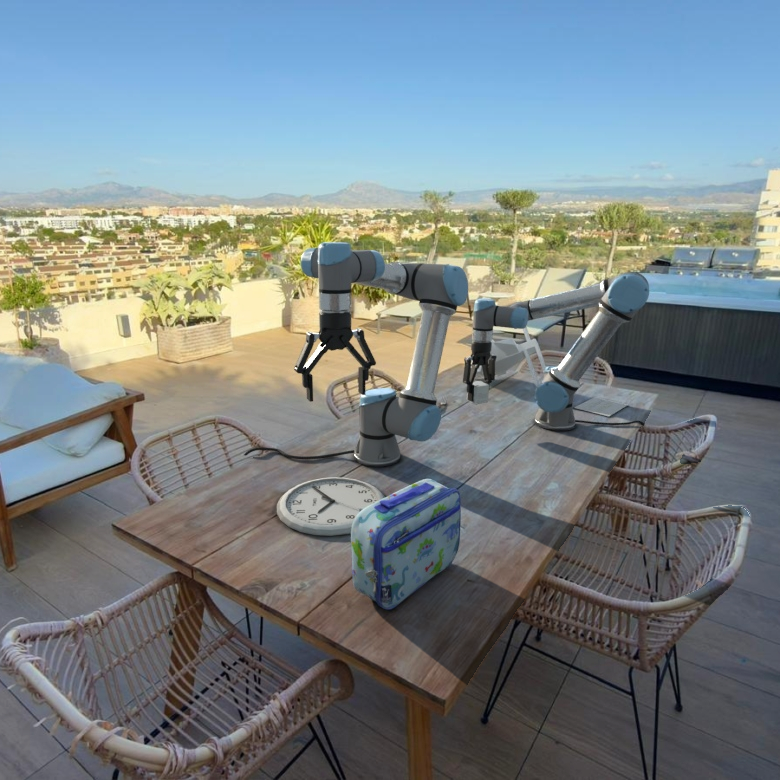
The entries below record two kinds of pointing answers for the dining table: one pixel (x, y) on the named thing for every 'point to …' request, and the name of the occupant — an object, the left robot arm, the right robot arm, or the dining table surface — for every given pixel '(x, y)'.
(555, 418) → the right robot arm
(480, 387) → the white printed box
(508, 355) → the white plastic object
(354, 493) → the wall clock
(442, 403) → the fork
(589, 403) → the invitation card
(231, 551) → the dining table surface
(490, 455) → the dining table surface
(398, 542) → the lunch box
